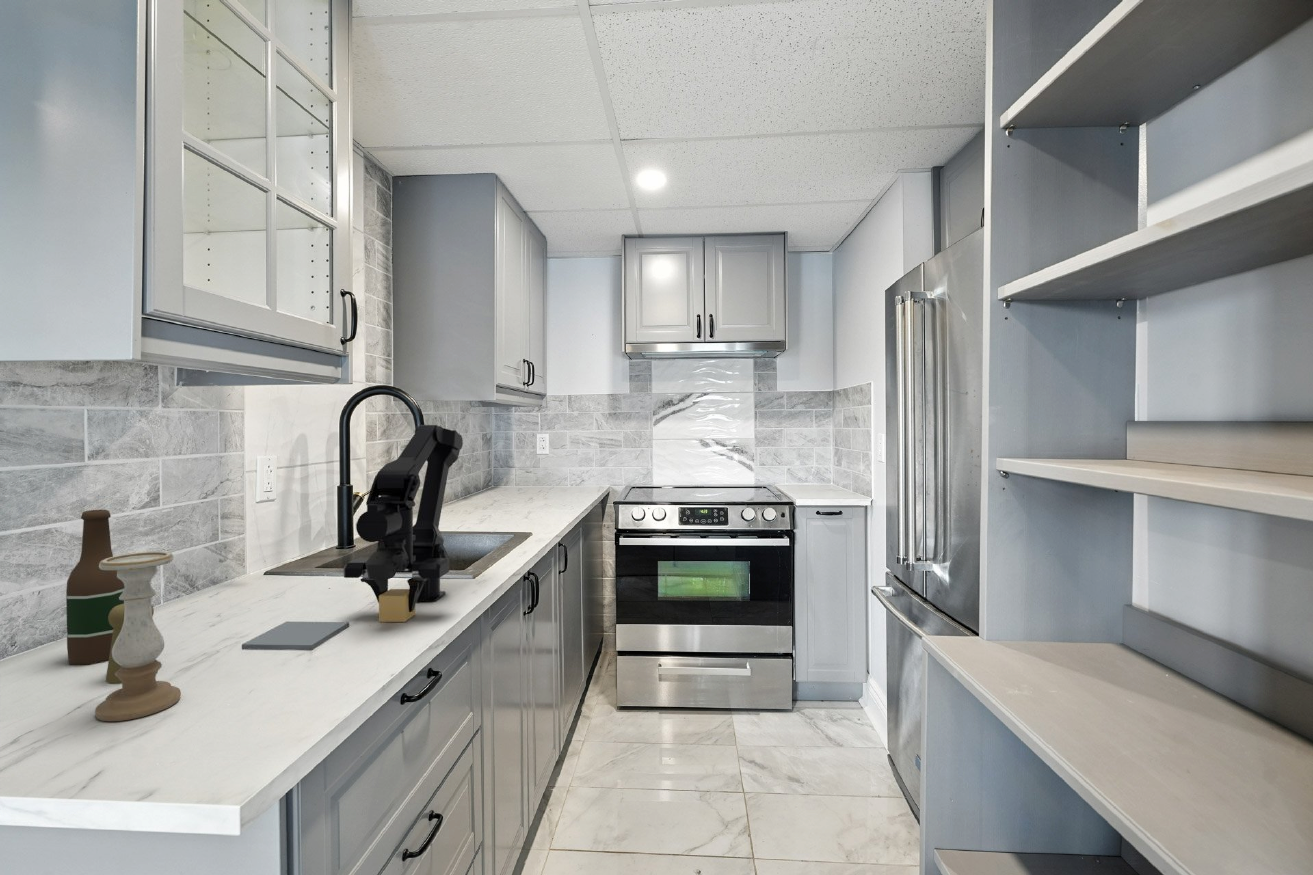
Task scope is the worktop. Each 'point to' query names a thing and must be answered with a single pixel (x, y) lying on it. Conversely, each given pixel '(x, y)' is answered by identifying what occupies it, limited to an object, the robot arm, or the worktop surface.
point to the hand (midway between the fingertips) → (397, 611)
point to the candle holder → (137, 642)
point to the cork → (116, 622)
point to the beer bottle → (92, 594)
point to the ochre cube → (395, 606)
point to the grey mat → (296, 635)
